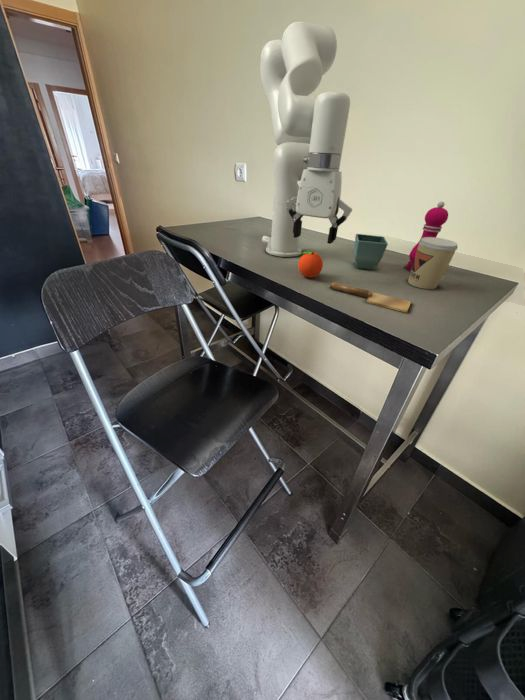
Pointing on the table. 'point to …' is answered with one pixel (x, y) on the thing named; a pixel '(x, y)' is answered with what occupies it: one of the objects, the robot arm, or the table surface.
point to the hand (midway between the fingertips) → (313, 239)
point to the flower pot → (368, 250)
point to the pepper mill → (430, 227)
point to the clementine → (310, 264)
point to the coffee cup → (431, 262)
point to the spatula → (374, 297)
